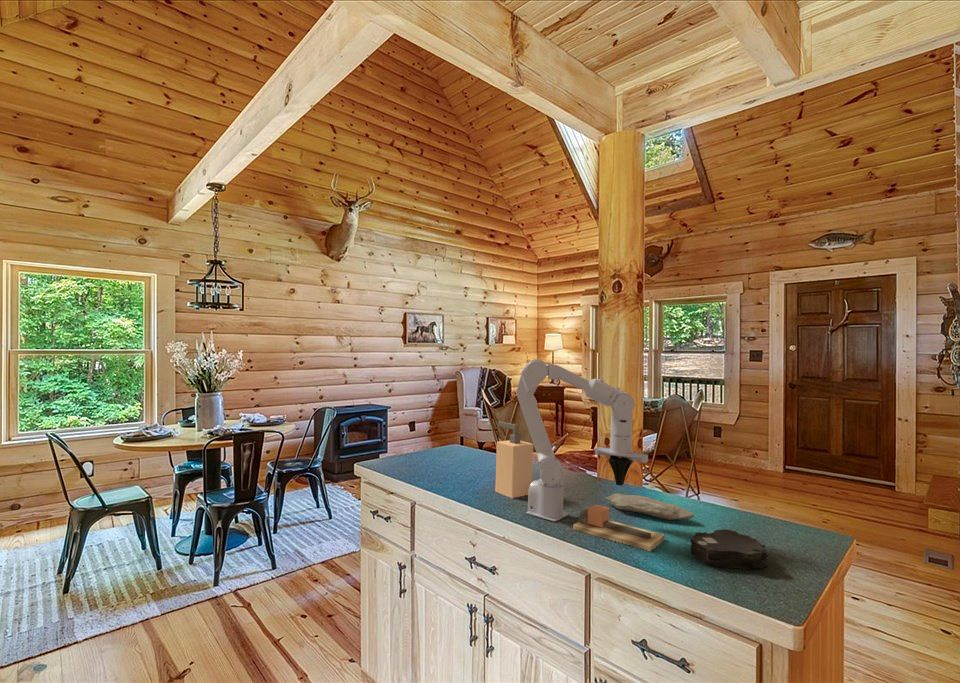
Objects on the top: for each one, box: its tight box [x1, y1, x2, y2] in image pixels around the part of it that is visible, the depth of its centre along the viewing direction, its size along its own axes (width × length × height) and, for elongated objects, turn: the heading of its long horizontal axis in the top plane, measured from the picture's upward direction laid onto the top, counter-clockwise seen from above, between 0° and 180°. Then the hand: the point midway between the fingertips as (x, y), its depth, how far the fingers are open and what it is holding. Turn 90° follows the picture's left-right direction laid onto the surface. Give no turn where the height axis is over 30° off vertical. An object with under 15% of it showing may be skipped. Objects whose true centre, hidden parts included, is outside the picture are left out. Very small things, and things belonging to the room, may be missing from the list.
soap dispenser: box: [494, 420, 534, 499], centre depth 157 cm, size 13×9×22 cm
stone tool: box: [605, 492, 695, 521], centre depth 138 cm, size 12×5×25 cm
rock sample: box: [689, 529, 768, 570], centre depth 109 cm, size 18×16×5 cm
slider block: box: [587, 504, 611, 527], centre depth 125 cm, size 4×5×4 cm
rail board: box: [572, 507, 666, 552], centre depth 121 cm, size 20×10×4 cm, turn 51°
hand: (619, 484), depth 132 cm, fingers closed
